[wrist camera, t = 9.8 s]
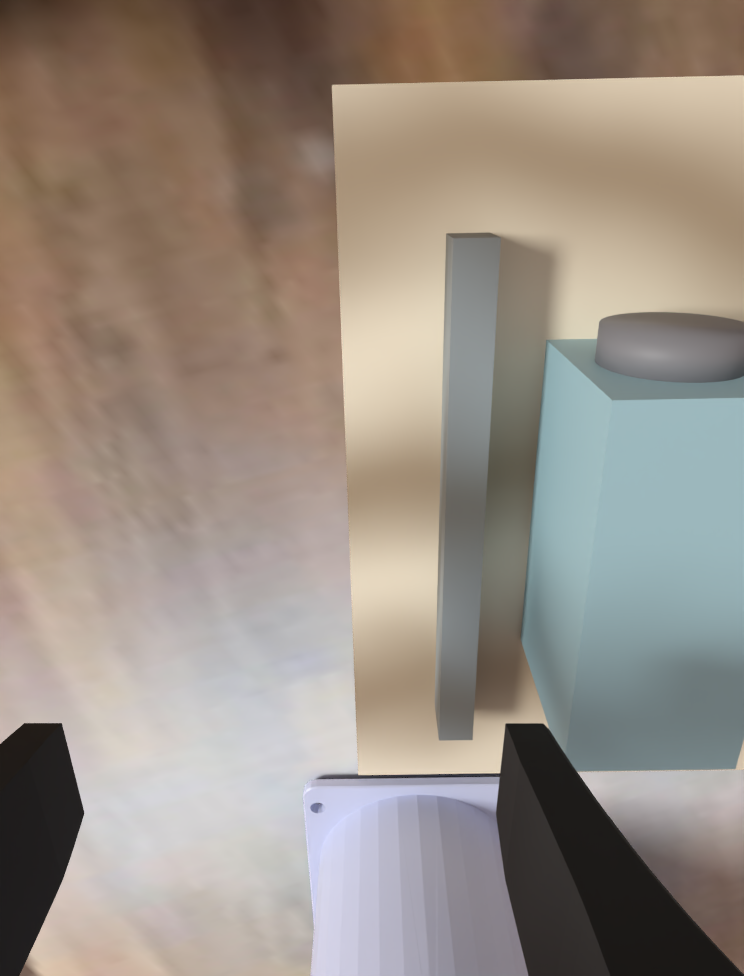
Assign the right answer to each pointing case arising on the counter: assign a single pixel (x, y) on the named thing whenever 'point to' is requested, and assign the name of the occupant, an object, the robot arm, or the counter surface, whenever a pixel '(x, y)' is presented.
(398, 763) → the jig board
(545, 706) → the pale blue tall carton
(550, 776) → the robot arm
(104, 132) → the counter surface
